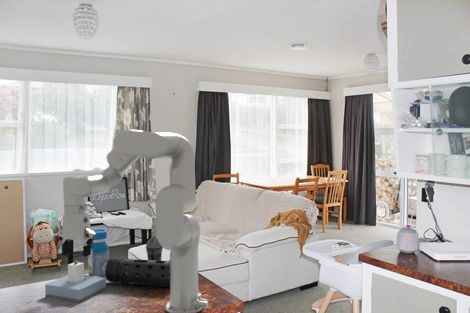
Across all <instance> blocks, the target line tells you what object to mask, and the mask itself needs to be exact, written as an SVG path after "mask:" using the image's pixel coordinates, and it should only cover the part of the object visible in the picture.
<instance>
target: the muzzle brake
mask: <svg viewBox="0 0 470 313" xmlns="http://www.w3.org/2000/svg"><path fill="white" fill-rule="evenodd" d="M102 276H103V277H104V278H106V281H108V282H110V283H120V285H130V284H139V285H140V284H141V285H142V286H145V285H146V286H151V287H152V286H153V287H162V288H163V287H164V288H165V287H166V288H167V287H168V288H170V260H161V261H157V260H148V259H138V258H137V259H134V258H126V259H125V258H123V257H111V258H109V259H107V260H106V261H105V262H104V264H103V267H102Z"/></svg>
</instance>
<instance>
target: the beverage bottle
mask: <svg viewBox="0 0 470 313" xmlns="http://www.w3.org/2000/svg"><path fill="white" fill-rule="evenodd" d="M91 231H93V232H94V233H95V234H96V235H95V238H94V241H93V242H92V244H90V246H91V255H89V256H87V257H88V258H87V262H88V275H90V276H97V277H103V276H102V267H103V264H104V262H105V261H106V260H107V259H110V251H109V248H110V247H109V243H108V241H107V240H106V239H107V238H108V237H107V236H108V235H107V234H108V233H107V230H106V229H92V230H91Z"/></svg>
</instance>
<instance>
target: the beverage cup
mask: <svg viewBox="0 0 470 313" xmlns="http://www.w3.org/2000/svg"><path fill="white" fill-rule="evenodd" d="M153 236H154V237H151V238H149V239H148V240H147V241H146V245H145V250H146V256H147V260H157V261H162V254H163V249H164V248H163V247H162V246H161V245H160V244H159V242H158V239H157V235H156V226H154V235H153Z"/></svg>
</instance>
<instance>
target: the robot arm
mask: <svg viewBox="0 0 470 313" xmlns="http://www.w3.org/2000/svg"><path fill="white" fill-rule="evenodd" d="M113 147H114V148H112V150H110V151H109V152H108V153H107V154H106V162H107V163H108V166H107V167H106V169H104V170H103V171H102V172H101V173H99V174H92V175H91V174H90V175H84V176H82V175H71V176H70V175H69V176H66V177H64V178H63V180H62V186H63V189H62V190H63V194H62V195H63V211H64V212H63V213H62V223H61V228H60V229H59V230H58V231H57V232H56V234H57V236H58V239H59V241H60V244H61V245H62V254H63V255H64V256H66V255H68V254H70V253H71V243H70V241H81V242H82V244H83V246H82V252H83V254H82V256H83V257H88V256H89V255H91V246H90V244H92V242H93V241H94V238H95V235H96V234H95V233H94V232H93V231H92V230H91V221H90V217H89V212H87V210H88V207H87V206H86V197H87V198H88V197H89V198H90V197H94V196H97V195H104V194H106V193H108V192H110V191H111V190H112V189H113V188H115V186H117V185H118V184H119V183H120V182H121V181H122V179H123V177H124V176H125V172H126V171H127V170H128V169H129V168H130V167H131V166H132V165H134V163H135V162H137V161H138V160H139V159H140V158H148V159H167V158H168V159H169V158H170V159H171V163H170V165H169V171H168V172H169V185H166V186H164V187H163V188H161V189H160V190H159V191H158V193H157V196H156V198H155V203H154V204H155V205H154V206H155V227H156V238H157V239H158V242H159V244H160V245H161V246H162V247H163V248H162V249H165V250H166V251H167V250H169V251H170V252H169V261H170V270H169V272H170V277H169V278H170V287H169V293H170V294H169V299H170V300H169V301H168V302H167V303H166V304H165V311H167V313H199V312H200V311H202V309H203V308H206V309H207V308H208V307H209V305H210V304H209V299H207V298H203V297H202V293H200V292H199V244H200V236H201V226H200V222H199V221H198V219H197V218H196V217H195V216H193V215H191V214H184V212H188V211H189V210H191V209H192V208H193V207H195V204H196V199H197V196H196V195H197V193H196V192H197V191H196V170H195V167H196V166H195V163H196V161H195V160H196V159H195V150H194V146H193V145H192V143H191V141H190V140H189V139H188V138H186V137H185V136H183V135H181V134H178V133H176V132H156V131H144V130H139V129H128V128H127V129H122V130H120V131H119V132H117V134H116V135H115V136H114V138H113Z"/></svg>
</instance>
